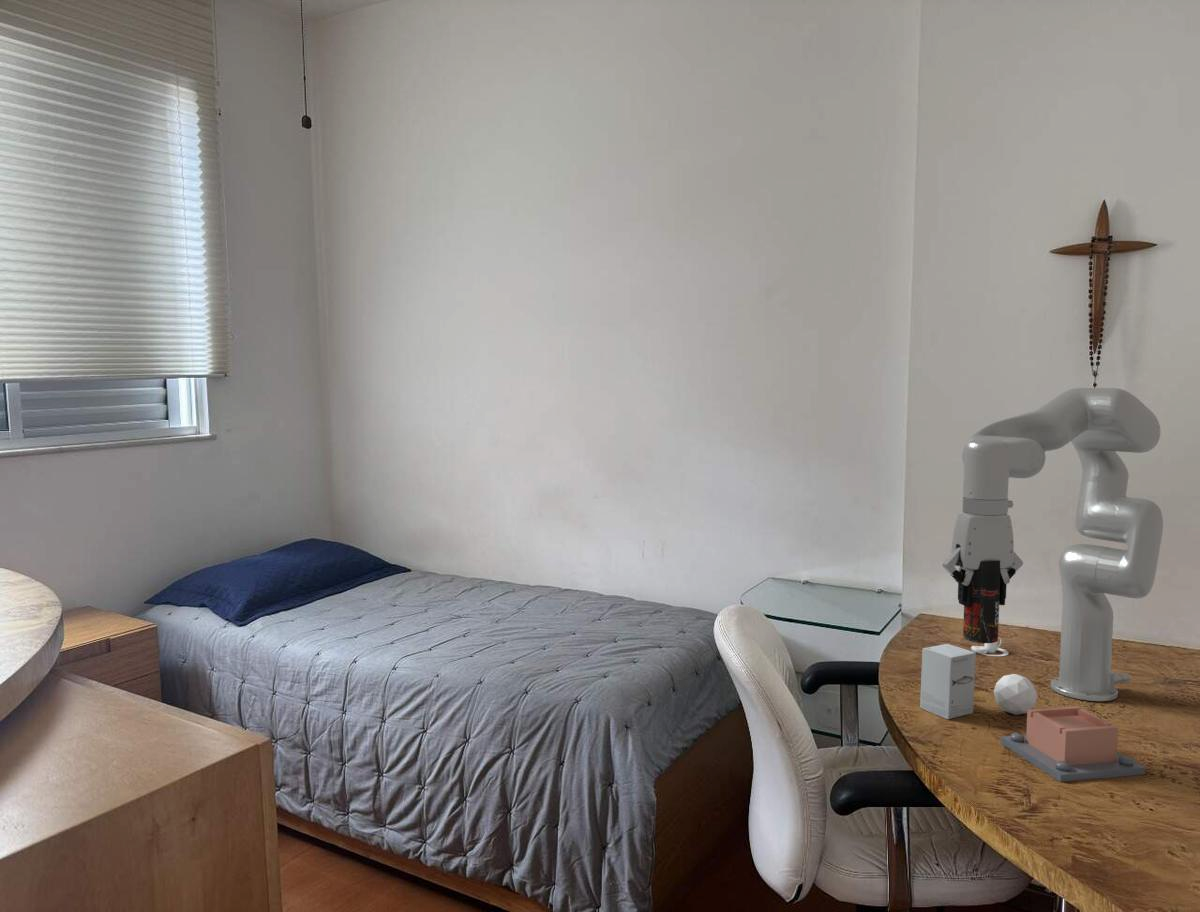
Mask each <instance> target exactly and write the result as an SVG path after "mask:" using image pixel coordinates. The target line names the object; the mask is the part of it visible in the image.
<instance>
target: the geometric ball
mask: <svg viewBox="0 0 1200 912" xmlns="http://www.w3.org/2000/svg"><path fill="white" fill-rule="evenodd" d="M993 695H994V699H995V702H996V704H997V705H998V707H1000V708H1001V710H1002V711H1004V712H1006V713H1008V714H1012V715H1014V716H1017V715H1022V714H1023V715H1024V714H1027V710H1029V709H1034V707H1035V706H1036V701H1037V698H1038V694H1037V691H1036V688H1035V685H1034V684H1033V683H1032V682H1031V681H1030V680H1029V679H1028V678H1027V677H1025V676H1022V675H1019V674H1017V673H1011V674H1006V675H1003V676H1002V677H1000V678H999V680H998V681H997V682H996V683H995V686H994V689H993Z"/></svg>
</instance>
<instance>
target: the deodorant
mask: <svg viewBox="0 0 1200 912" xmlns="http://www.w3.org/2000/svg"><path fill="white" fill-rule="evenodd" d="M969 585H971V586H972V606H971V607H966V606H964V605H963V625H962V626H963V630H962V638H963V639H964V640H967V641H969V642H973V643H978V644H984V643H995V642H997V641H998V642H999V639H998V638H999V623H1000V622H999V621H1000V620H999V619H1000V618H999V617H1000V605H999V597H1000V561H980V565H979V568H978V569H977V570H974V573H973V575H972V578H971V580H970V583H969Z"/></svg>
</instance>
